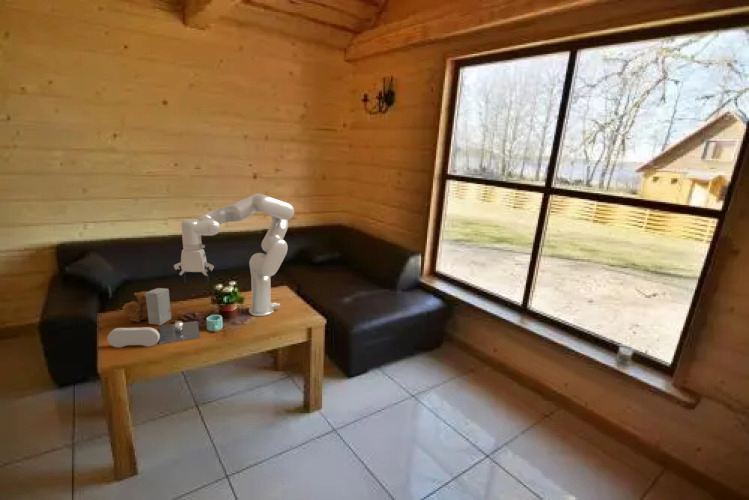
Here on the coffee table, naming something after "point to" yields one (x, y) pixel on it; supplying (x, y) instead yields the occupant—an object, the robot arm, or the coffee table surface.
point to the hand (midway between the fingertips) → (195, 282)
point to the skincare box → (158, 306)
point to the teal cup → (214, 322)
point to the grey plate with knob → (179, 332)
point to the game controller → (133, 337)
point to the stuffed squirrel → (137, 308)
